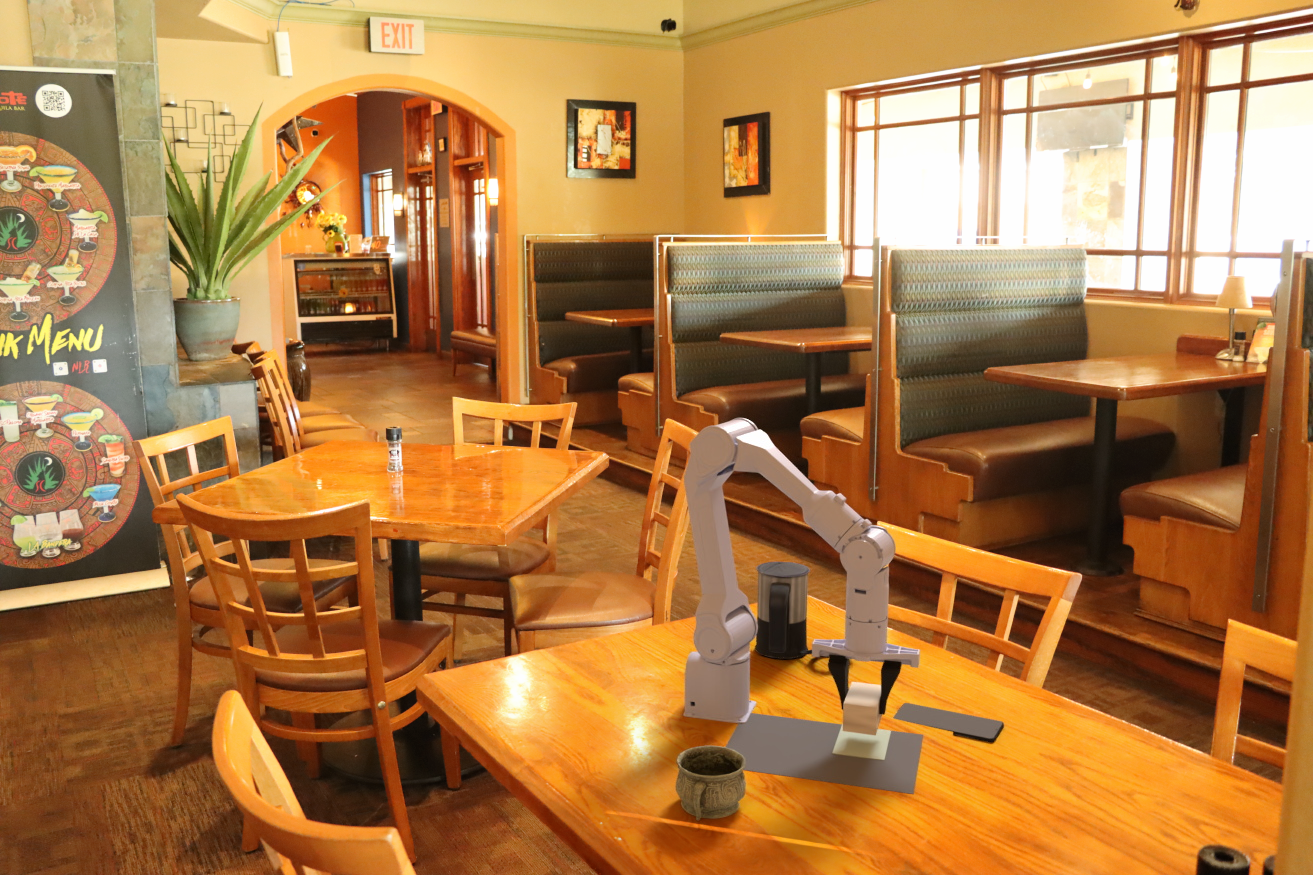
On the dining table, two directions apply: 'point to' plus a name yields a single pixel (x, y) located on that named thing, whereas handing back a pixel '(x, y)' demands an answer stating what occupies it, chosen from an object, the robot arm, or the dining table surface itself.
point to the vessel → (710, 781)
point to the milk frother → (782, 610)
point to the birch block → (862, 708)
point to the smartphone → (951, 722)
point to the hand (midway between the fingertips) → (863, 709)
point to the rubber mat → (828, 752)
